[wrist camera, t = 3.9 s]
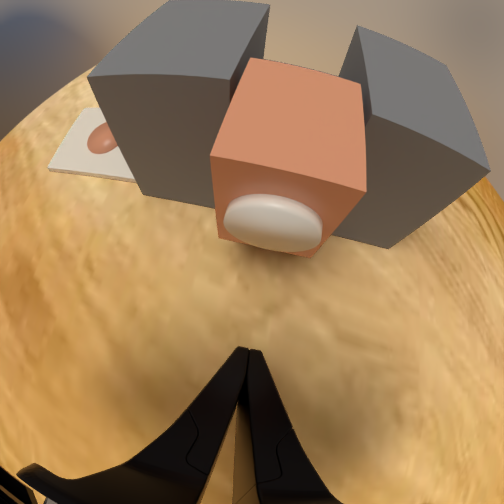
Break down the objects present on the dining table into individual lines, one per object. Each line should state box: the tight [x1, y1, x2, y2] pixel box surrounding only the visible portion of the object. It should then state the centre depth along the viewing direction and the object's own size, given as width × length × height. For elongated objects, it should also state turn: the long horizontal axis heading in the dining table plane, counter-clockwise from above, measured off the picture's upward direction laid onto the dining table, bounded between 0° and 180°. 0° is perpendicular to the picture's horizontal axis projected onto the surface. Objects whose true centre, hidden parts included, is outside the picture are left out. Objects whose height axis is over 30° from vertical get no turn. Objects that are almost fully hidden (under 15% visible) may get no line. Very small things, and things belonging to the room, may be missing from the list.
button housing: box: [87, 0, 491, 249], centre depth 17 cm, size 10×20×12 cm, turn 78°
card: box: [47, 108, 137, 183], centre depth 22 cm, size 8×11×1 cm
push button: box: [210, 57, 366, 258], centre depth 12 cm, size 7×5×7 cm
